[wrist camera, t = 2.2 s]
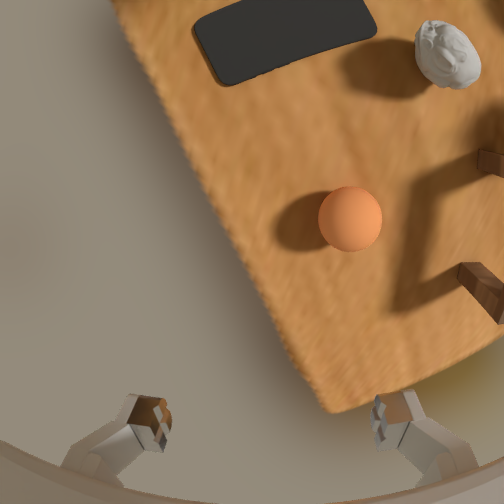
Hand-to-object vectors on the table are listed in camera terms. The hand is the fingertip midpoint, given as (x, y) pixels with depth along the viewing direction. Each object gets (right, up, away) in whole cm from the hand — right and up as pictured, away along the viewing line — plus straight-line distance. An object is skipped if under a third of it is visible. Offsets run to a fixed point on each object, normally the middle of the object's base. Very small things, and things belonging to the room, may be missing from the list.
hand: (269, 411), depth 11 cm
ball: (+7, +9, +14) cm, 18 cm away
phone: (+2, +26, +11) cm, 28 cm away
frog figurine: (+15, +24, +11) cm, 30 cm away
